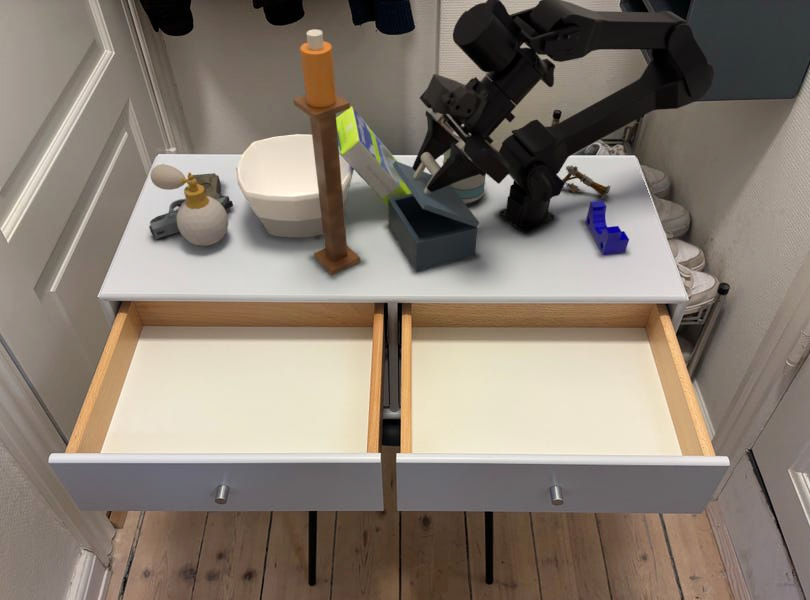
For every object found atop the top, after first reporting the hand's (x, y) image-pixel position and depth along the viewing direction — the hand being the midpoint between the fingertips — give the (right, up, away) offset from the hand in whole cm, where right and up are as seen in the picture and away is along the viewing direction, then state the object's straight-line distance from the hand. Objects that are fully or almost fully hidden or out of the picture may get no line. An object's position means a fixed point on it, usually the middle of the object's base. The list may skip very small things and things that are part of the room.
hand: (421, 179), depth 93 cm
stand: (-12, -10, +6) cm, 17 cm away
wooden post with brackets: (+27, +2, +17) cm, 32 cm away
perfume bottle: (-34, -7, +9) cm, 36 cm away
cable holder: (+29, -7, +9) cm, 31 cm away
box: (-2, +2, +15) cm, 16 cm away
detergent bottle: (-13, +6, -13) cm, 19 cm away
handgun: (-41, +4, +18) cm, 45 cm away
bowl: (-19, -2, +13) cm, 23 cm away
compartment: (+2, -7, +9) cm, 12 cm away
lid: (+2, -2, +3) cm, 4 cm away
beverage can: (+7, +2, +17) cm, 19 cm away
